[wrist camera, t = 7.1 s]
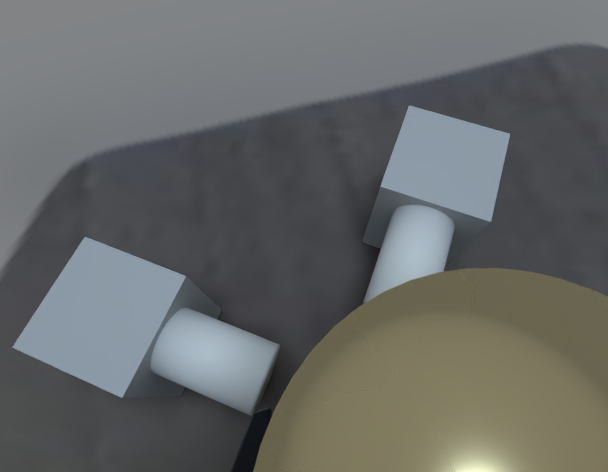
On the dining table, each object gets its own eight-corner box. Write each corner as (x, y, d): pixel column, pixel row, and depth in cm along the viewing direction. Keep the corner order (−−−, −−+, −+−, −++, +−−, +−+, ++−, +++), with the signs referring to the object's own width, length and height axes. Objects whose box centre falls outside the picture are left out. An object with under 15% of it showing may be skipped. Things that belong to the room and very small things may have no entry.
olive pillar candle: (431, 495, 14) (1099, 1052, 2) (299, 506, 14) (241, 1138, 2) (408, 357, 16) (694, 251, 4) (292, 366, 15) (239, 285, 4)
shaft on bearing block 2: (384, 177, 20) (409, 105, 15) (458, 200, 20) (510, 134, 15) (334, 319, 17) (344, 288, 12) (418, 351, 17) (465, 334, 12)
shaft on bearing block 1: (102, 361, 17) (12, 347, 12) (147, 280, 18) (85, 236, 13) (257, 430, 16) (232, 448, 11) (293, 338, 17) (285, 315, 12)
